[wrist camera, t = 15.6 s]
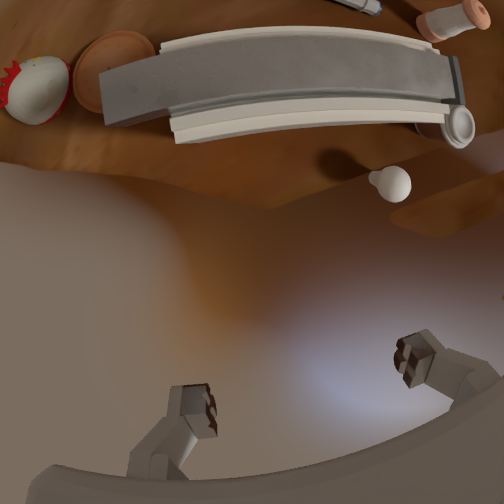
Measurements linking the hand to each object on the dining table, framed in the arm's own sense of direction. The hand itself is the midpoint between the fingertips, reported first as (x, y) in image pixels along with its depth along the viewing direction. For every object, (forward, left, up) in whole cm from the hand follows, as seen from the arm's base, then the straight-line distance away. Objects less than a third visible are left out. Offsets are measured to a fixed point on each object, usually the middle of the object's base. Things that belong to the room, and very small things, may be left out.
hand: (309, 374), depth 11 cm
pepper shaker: (+28, +50, -41) cm, 71 cm away
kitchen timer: (-43, +12, -41) cm, 61 cm away
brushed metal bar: (-2, +15, -15) cm, 21 cm away
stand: (+1, +16, -41) cm, 44 cm away
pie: (-27, +16, -42) cm, 52 cm away
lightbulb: (+23, +10, -41) cm, 48 cm away
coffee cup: (+32, +26, -41) cm, 58 cm away
